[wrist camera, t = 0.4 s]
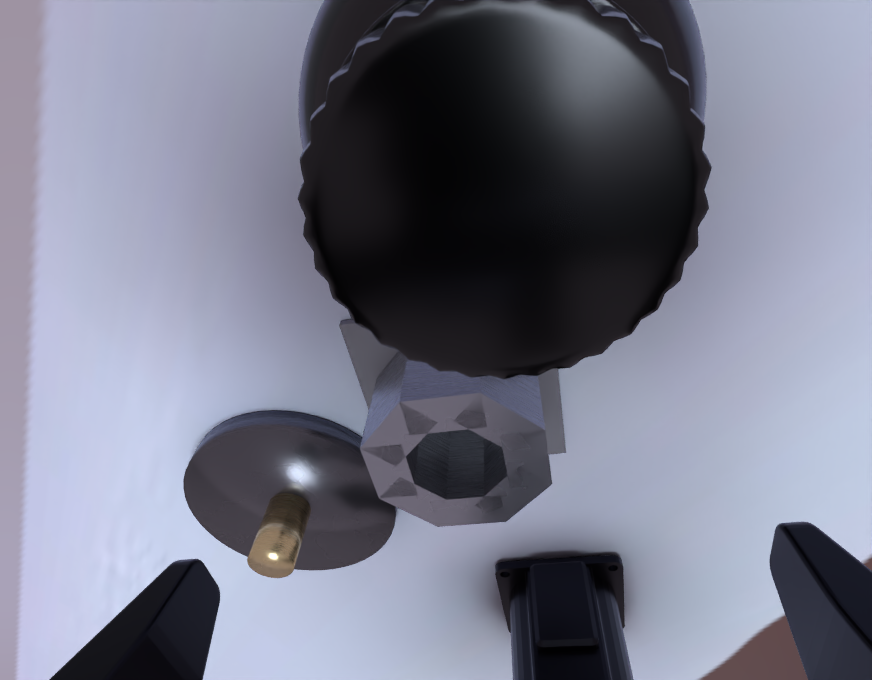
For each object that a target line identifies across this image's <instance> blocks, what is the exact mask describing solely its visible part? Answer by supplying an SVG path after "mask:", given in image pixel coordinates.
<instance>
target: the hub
mask: <svg viewBox="0 0 872 680" xmlns="http://www.w3.org/2000/svg"><path fill="white" fill-rule="evenodd" d="M361 441H362V438H361V437H360V436H358V435H357V434H355V433H354V432H352V431H350V430H348V429H347V428H345V427H343V426H340V425H338V424H336V423H334V422H331V421H328V420H325V419H322V418H319V417H316V416H312V415H308V414H303V413H297V412H289V411H260V412H254V413H248V414H244V415H240V416H237V417H234V418H231V419H229V420H227V421H225V422H223V423H221V424H220V425H218V426H217V427H215V428H214V429H212V430H211V431H210V432H209V433H208V434H207V435H206V436H205V438H204V439H203V440H202V442H201V443H200V445H199V446H198V448H197V450H196V452H195V453H194V455H193V457H192V459H191V460H190V462H189V464H188V467H187V469H186V471H185V476H184V493H185V498H186V501H187V503H188V506H189V508H190V510H191V511H192V513H193V515H194V516H195V518H196V519H197V520H198V521H199V523H200V524H201V525H202V526H203V527H204V528H205V529H206V530H207V531H208V532H209V533H210V534H211V535H213V536H214V537H215V538H216V539H217V540H219V541H220V542H222V543H223V544H225V545H226V546H228V547H230V548H231V549H233V550H235V551H237V552H239V553H241V554H243V555H245V556H247V557H248V559H247V561H248V565H249V566H250V568H251V569H252V570H254V571H255V572H257V573H258V574H261V575H263V576H266V577H271V578H282V577H286V576H288V575H290V574H291V573H292V572H293V570H294V569H298V570H327V569H336V568H341V567H345V566H349V565H352V564H355V563H358V562H360V561H362V560H365V559H366V558H368V557H370V556H371V555H373V554H374V553H376V552H377V551H378V550H379V549H381V548H382V546H383V545H384V544H385V543H386V542H387V540H388V539H389V537H390V535H391V534H392V531H393V528H394V524H395V517H396V511H397V507H396V506H394V505H391V504H389V503H387V502H385V501H383V500H381V499H379V497H378V495H377V492H376V489H375V487H374V484H373V482H372V479H371V476H370V474H369V471H368V468H367V466H366V463H365V461H364V458H363V455H362V453H361V450H360V446H361Z"/></svg>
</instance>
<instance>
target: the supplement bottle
mask: <svg viewBox="0 0 872 680" xmlns="http://www.w3.org/2000/svg"><path fill="white" fill-rule="evenodd" d="M705 106H706V68H705V57H704V51H703V46H702V41H701V36H700V31H699V28H698V25H697V21H696V18H695V15H694V12H693V9H692V7H691V4H690V2H689V0H324V2H323V4H322V6H321V8H320V9H319V12H318V14H317V17H316V19H315V22H314V24H313V27H312V29H311V33H310V36H309V39H308V43H307V46H306V50H305V54H304V59H303V65H302V70H301V77H300V87H299V124H300V134H301V140H302V146H303V153H302V154H301V157H300V164H301V171H302V175H303V179H304V183H303V184H302V186H301V189H300V192H299V195H298V200H299V203H300V206H301V209H302V210H303V212H304V215H305V217H306V219H305V224H304V232H303V235H304V237H305V239H306V241H307V242H308V244H309V245H310V247H311V248H312V250H313V251H314V262H315V269H316V270H317V271H318V272H319V273H320V274H321V276H323V277H324V278H325V279H326V280H327V281H328V283H329V287H330V291H331V294H332V297H333V299H335V300H336V301H337V302H338V303H340V304H341V305H343V306H344V307H345V308H347V309H348V311H349V313H350V316H351V318H352V319H353V321H354V323H355V324H357V325H359V326H360V327H362V328H365V329H367V330H369V331H370V332H371V333H372V334H373V336H374V337H375V338H376V340H377V341H378V342H379V343H380V344H381V345H384V346H387V347H389V348H393V349H396V350H398V351H399V352H400V353H401V354H402V355H403V356H404V357H405V358H407V359H408V360H409V361H415V362H422V363H426V364H428V365H429V366H431V367H432V368H434V369H436V370H437V371H439V372H458V373H460V374H462V375H465V376H467V377H470V378H476V377H481V376H491V377H495V378H500V379H508V378H511V377H514V376H517V375H528V376H538V375H541V374H543V373H545V372H547V371H548V370H551V369H560V368H570V367H572V366H573V365H575V364H577V363H578V362H579V361H580V360H581V359H583V358H585V357H589V356H595V355H599V354H602V353H603V352H604V351H605V350H606V349H607V348H608V347H609V346H610V345H611V344H612V343H613V341H616V340H618V339H621V338H624V337H626V336H628V335H630V334H632V332H633V331H634V330H635V328H636V327H637V325H638V324H639V322H640V320H641V319H643V318H645V317H647V316H649V315H650V314H652V313H653V312H655V311H656V310H658V308H659V306H660V304H661V302H662V299H663V297H664V294H665V293H666V292H667V291H668V290H669V289H671V288H672V287H674V286H675V285H676V284H677V283H678V282H679V281H680V280H681V276H682V272H683V266H684V262H685V261H686V260H687V258H688V257H689V256H690V255H692V253H693V252H694V251H695V249H696V248H697V247H698V226H699V224H700V222H701V221H702V220H703V218H704V217H705V215H706V213H707V211H708V209H709V206H708V201H707V197H706V194H705V191H704V189H705V186H706V184H707V181H708V178H709V175H710V171H711V168H712V167H711V164H710V162H709V160H708V158H707V156H706V154H705V153H704V151H703V150H702V145H703V140H704V134H705V124H704V115H705Z"/></svg>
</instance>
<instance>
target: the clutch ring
mask: <svg viewBox="0 0 872 680" xmlns="http://www.w3.org/2000/svg"><path fill="white" fill-rule="evenodd" d="M360 450H361V453H362V455H363V458H364V461H365V463H366V466H367V468H368V471H369V474H370V476H371V479H372V482H373V484H374V487H375V489H376V492H377V495H378V497H379V499H381V500H383V501H385V502H387V503H389V504H391V505H394V506H396V507H398V508H400V509H402V510H404V511H406V512H408V513H410V514H412V515H414V516H417V517H419V518H421V519H423V520H425V521H427V522H429V523H431V524H433V525H435V526H437V527H440V526H453V525H467V524H480V523H494V522H506V521H507V520H509V519H510V518H511V517H512V516H514V515H515V514H516V513H517V512H518V511H520V510H521V509H522V508H523V507H525V506H526V505H527V504H528V503H529V502H531V501H532V500H533V499H534V498H536V497H537V496H538V495H539V494H540V493H542V492H543V491H544V490H545V489H547V488H548V487H549V486H550V485H551V484H552V480H551V472H550V464H549V456H548V448H547V440H546V432H545V424H544V416H543V409H542V402H541V395H540V387H539V380H538V376H528V375H517V376H514V377H511V378H508V379H500V378H495V377H491V376H481V377H476V378H470V377H467V376H465V375H462V374H460V373H458V372H439V371H437V370H436V369H434V368H432V367H431V366H429V365H428V364H426V363H422V362H415V361H409V360H408V359H407V358H405V357H404V356H403V355H402V354H401V353H400V352H399V351H397V353H396V354H395V355H394V356H393V358H392V359H391V360H390V361H389V363H388V364H387V365H386V367H385V368H384V369H383V370H382V372H381V373H380V374H379V375H378V377H377V379H376V383H375V387H374V392H373V396H372V400H371V404H370V408H369V412H368V417H367V421H366V425H365V429H364V433H363V437H362V441H361V446H360Z"/></svg>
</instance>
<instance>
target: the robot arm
mask: <svg viewBox="0 0 872 680" xmlns="http://www.w3.org/2000/svg"><path fill="white" fill-rule="evenodd" d="M770 569H771V573H772V577H773V580H774V583H775V586H776V588H777V591H778V594H779V597H780V600H781V603H782V606H783V609H784V612H785V615H786V617H787V620H788V623H789V626H790V629H791V632H792V634H793V638H794V641H795V643H796V646H797V649H798V652H799V655H800V658H801V661H802V664H803V667H804V669H805V672H806V675H807V677H808V680H872V571H871V570H870V569H869V568H867V567H866V566H865V565H864V564H862V563H861V562H860V561H859V560H857V559H856V558H855V557H854V556H852V555H851V554H850V553H849V552H847V551H846V550H845V549H844V548H842V547H841V546H840V545H839V544H837V543H836V542H835V541H834V540H832V539H831V538H830V537H829V536H827V535H826V534H825V533H824V532H822V531H821V530H820V529H819V528H817V527H816V526H815V525H813V524H811V523H808V522H791V523H781V524H779V525H778V526H777V527H776V529H775V534H774V539H773V544H772V549H771V554H770ZM495 574H496V579H497V583H498V588H499V592H500V596H501V600H502V605H503V609H504V613H505V617H506V621H507V626H508V630H509V632H510V633H511V646H512V668H513V680H633V676H632V671H631V666H630V661H629V657H628V652H627V647H626V642H625V638H624V633H623V628H624V626H625V623H624V582H623V565H622V561H621V558H620V557H618V556H615V555H608V556H592V557H576V558H560V559H543V560H527V561H511V562H501V563H498V564H497V565H496V567H495ZM219 603H220V591H219V587H218V585H217V584H216V582H215V581H214V579H213V577H212V576H211V574H210V573H209V571H208V570H207V568H206V566H205V565H204V563H203V562H202V561H200V560H198V559H188V560H178V561H175V562H173V563H172V564H171V565H169V566H168V567H167V568H166V569H165V570H164V571H163V572H162V573H161V574H160V575H159V576H158V577H157V578H156V579H155V580H154V581H153V582H152V583H150V584H149V585H148V586H147V587H146V588H145V589H144V590H143V591H142V592H141V593H140V594H139V595H138V596H137V597H136V598H135V599H134V600H133V601H132V602H130V603H129V604H128V605H127V606H126V607H125V608H124V609H123V610H122V611H121V612H120V613H119V614H118V615H117V616H116V617H115V618H114V619H113V620H112V621H110V622H109V623H108V624H107V625H106V626H105V627H104V628H103V629H102V630H101V631H100V632H99V633H98V634H97V635H96V636H95V637H94V638H93V639H92V640H91V641H89V642H88V643H87V644H86V645H85V646H84V647H83V648H82V649H81V650H80V651H79V652H78V653H77V654H76V655H75V656H74V657H73V658H72V659H71V660H69V661H68V662H67V663H66V664H65V665H64V666H63V667H62V668H61V669H60V670H59V671H58V672H57V673H56V674H55V675H54V676H53V677H52V678H51V679H50V680H203V675H204V671H205V666H206V662H207V657H208V653H209V648H210V644H211V639H212V634H213V630H214V625H215V621H216V616H217V612H218V607H219Z"/></svg>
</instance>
